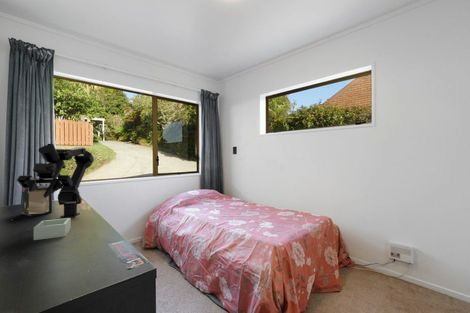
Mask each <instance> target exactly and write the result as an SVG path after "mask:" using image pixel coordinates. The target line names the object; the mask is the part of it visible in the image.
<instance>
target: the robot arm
mask: <svg viewBox="0 0 470 313" xmlns="http://www.w3.org/2000/svg"><path fill="white" fill-rule="evenodd" d="M38 153H39V154H40V156H41V157H42V160H44V162H46V163H44V162H43V163H42V162H41V163H40V162H39V163H34V165H33V168H32V172H35V173H36V176H37V178H36V177H34V176H32V175H26V174H25V175H23V174H22V175H19V176H18V177H17V179H16V181H17V182H18V183H19V185H20V186H21V187H22V189H23V188H29V192H31V191H35V190H38V189H39V188H38V186H39V184H41V185H46V184H48V186H49V187H48V189H47V190H46V192H45V194H44V197H45V198H46V197H47V196H49V195H50V194H53V193H56V192H58V191H59V192H58V194H57V202H58V204H59V205H58V206H63V214H62V215H60V218H71V217H72V218H74V217H77V216H78V215H80V214H81V212H78V205H80V204H82V202H83V201H82V200H83V199H82V197H81V195H80V191H79V186H80V185H81V182H82V180H83V177H84V175H85V173H86V171H87V169H88V168H90V167H91V166H92V164H93V163H94V161H95V160H94V156H93V154H92V152H89V151H88V150H87V149H86V147H83V146H80V147H72V148H56V147H55V144H54V143H47V144H45V145H42V146H40V147H38ZM72 159H73V160H74V161H75V164H76V167H75V169H74V171H73V172H72V175H71V176H70V175H69V174H60V173H61V171H62V170H63V169H66V165H65V164H66V163H65V161H71V160H72ZM28 197H29V195H28Z"/></svg>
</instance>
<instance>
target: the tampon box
mask: <svg viewBox="0 0 470 313" xmlns="http://www.w3.org/2000/svg"><path fill="white" fill-rule="evenodd" d="M37 186H38V188H39V189H38V190H47V189H48V187H49V185H37ZM52 194H53V193H52ZM52 194H50V195H49V211H48V212H45V213H40V214H29V197H28V195H29V188H23V187H22V206H21V209H22V210H21V214H22V215H25V216H28V217H30V218H31V217H35V216H36V217H37V216H40V215H42V216H43V215H47V214H52V213H53V210H52V209H53V208H52V207H53V200H52V199H53V196H52Z"/></svg>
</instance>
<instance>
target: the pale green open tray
mask: <svg viewBox="0 0 470 313" xmlns="http://www.w3.org/2000/svg"><path fill="white" fill-rule="evenodd" d="M71 222H72V221H71V217H64V218H57V219H48V220H46V219H45V220H41V221H40V222H38V223H37V224H36V225H35V226H34V227H33V241H38V240H44V239H45V240H48V239H55V238H64V237H66V236H67V235H68V233H69V232H70V230H71V226H72V225H71Z"/></svg>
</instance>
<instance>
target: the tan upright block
mask: <svg viewBox="0 0 470 313" xmlns="http://www.w3.org/2000/svg"><path fill="white" fill-rule="evenodd" d="M45 192H46V190H35V191H31V192H29V214H40V213H45V212H48V211H49V196H47V197H46V198H45V197H44V194H45Z"/></svg>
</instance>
